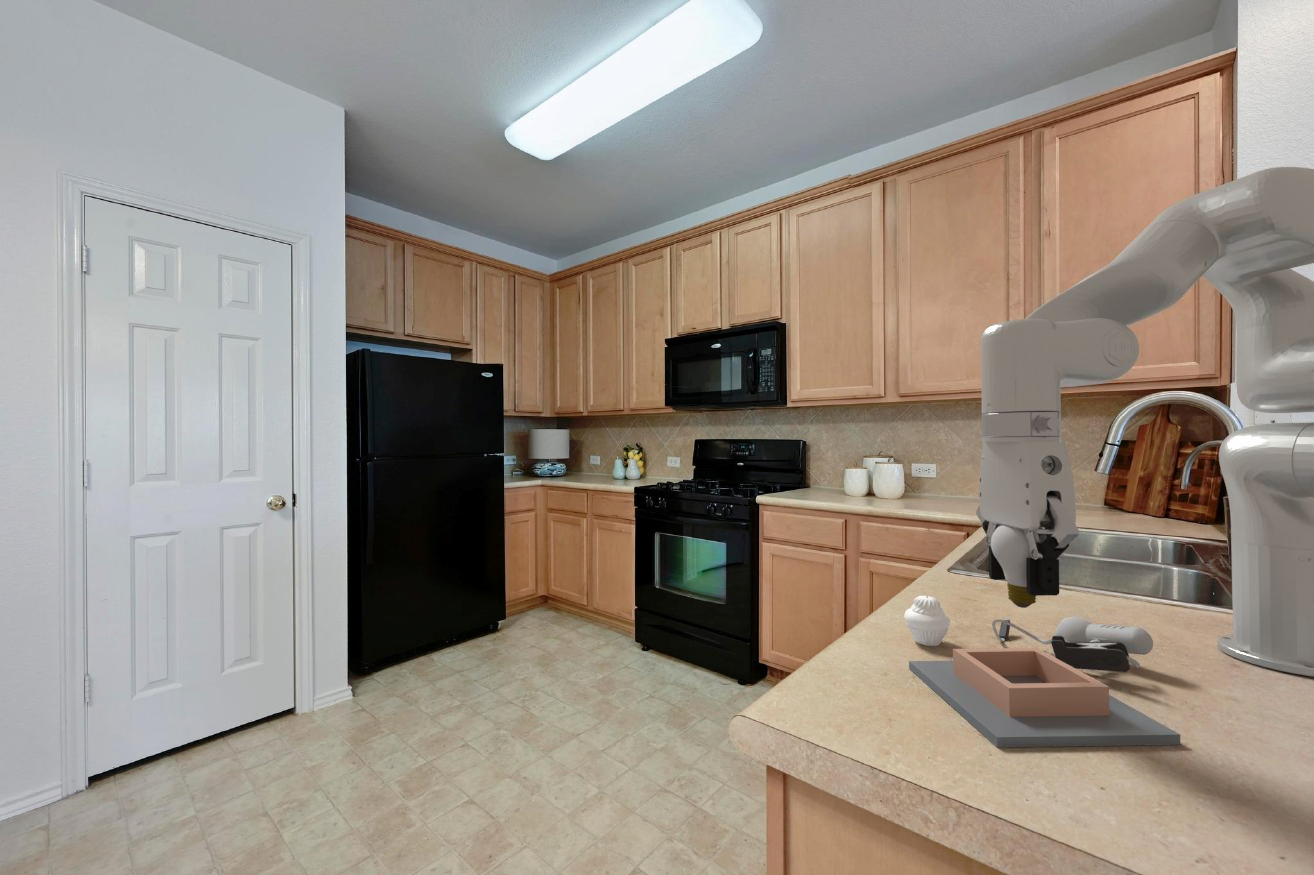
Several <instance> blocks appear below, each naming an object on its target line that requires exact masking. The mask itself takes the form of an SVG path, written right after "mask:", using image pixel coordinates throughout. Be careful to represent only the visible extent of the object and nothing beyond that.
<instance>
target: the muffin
mask: <svg viewBox="0 0 1314 875" xmlns="http://www.w3.org/2000/svg"><path fill="white" fill-rule="evenodd" d="M903 616H904V620H905V622H906V624H905V625H906V626H907V628H908V630H909V632H910V633H911V636H912V637H913V639H914V640H915V643H917V644H919V645H922V646H927V647H936V646H937V647H938V646H940V644H941V642H942V641H943V639H944V638H945V636H946V635H947V633H948V631H949V628H950V625H951V619H950V616H948V614H946V613H945V611H944V609H943V608H942V607H941V603H940V601H939V600H938V599H936V598H935V597H933V596H929V595H927V594H926V595H919V596H917V597H915V598H914V599H913V603H912V605H911V606H910V607H909V608H908V609H906V610H905V612H904V615H903Z"/></svg>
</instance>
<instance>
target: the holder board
mask: <svg viewBox="0 0 1314 875" xmlns="http://www.w3.org/2000/svg"><path fill="white" fill-rule="evenodd" d="M908 669H909V670H910V671H911V672H912V673H913V674H914V675H915V676H917V678H919V679H920V680H921V681H922V682H924V684H926V685H927V686H928V687H929V688H930V689H931V690H932V691H933V692H934V693H936V694H937V695H938V696H939V697H940V698H941V699H943V701H944V702H946V703H947V704H948V705H949V706H950V707H951V708H953V709H954V711H956V712H957V713H958V714H959V715H961V717H962V718H963V719H965V720H966V721H967V722H968V723H969V724H970V725H972V727H974V728H975V729H976V730H977V731H978V732H979V733H980V734H981V735H983V737H985V738H986V739H987V740H988V741H989V742H990V743H991V744H993V745H994V746H995V747H996V748H1046V747H1047V748H1049V747H1050V748H1051V747H1053V748H1056V747H1059V748H1062V747H1112V746H1113V747H1116V746H1117V747H1118V746H1119V747H1121V746H1175V745H1176V746H1180V745H1181V734H1180V733H1178V732H1177V731H1175V730H1173V729H1171V728H1170V727H1168V726H1166V725H1164V724H1162V723H1160V722H1159V721H1157V720H1156V719H1153V718H1152V717H1150V716H1148V715H1146V714H1144V713H1142V712H1140V711H1139V710H1138V709H1135V708H1134V707H1132V706H1130V705H1129V704H1126V703H1125V702H1123V701H1121V700H1119V699H1117V698H1116V697H1114V696H1113V695H1110V686H1109V685H1107V684H1105V683H1103V682H1101V681H1099V680H1098V679H1095V678H1094V677H1092V676H1090V675H1088V674H1087V673H1085V672H1083V671H1081V670H1080V669H1075V668H1073V667H1072V666H1070V665H1068V664H1066V663H1064V662H1062V661H1061V660H1059V659H1057V658H1056V657H1055V656H1053V655H1052V654H1049V653H1047V652H1046V651H1044V650H1042V649H1040V648H1038V647H1017V648H1016V647H1009V648H1008V647H1004V648H1002V647H1000V648H996V647H995V648H992V647H990V648H953V649H952V660H909V661H908Z"/></svg>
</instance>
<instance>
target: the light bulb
mask: <svg viewBox="0 0 1314 875" xmlns="http://www.w3.org/2000/svg"><path fill="white" fill-rule="evenodd" d="M1039 529H1044V528H1043V527H1039ZM1038 537H1039V541H1040V544H1041V543H1042V542H1043V541H1044V540H1045V539H1046V536H1038ZM990 546H991V548H992V552H993V554H994V556H995V557H996V559H997V560H998V562H999V563H1000V565H1001V567H1002V569H1003V571H1004V575H1005V579H1006V580H1005V581H1006V584H1007V586H1006V587H1007V590H1008V591H1007V594H1008V595H1007V597H1008V600H1010V601H1011V602H1012V603H1013V605H1015V606H1016V607H1018V608H1022V609H1025V608H1028V607H1029V606H1031V605H1032V604H1035V603H1037V601H1036V600H1037V596H1033V595H1030V594H1028V593H1027V583H1026V558H1032V557H1031V554H1030V550H1029V546H1028V542H1027V538H1026V535H1025V531H1023V530H1018V529H1015V528H1013V527H1010V526H1006V525H1000V526H999V527H998V528H997V529H996V530H995V531H994V533H993V535H992V538H991V545H990Z"/></svg>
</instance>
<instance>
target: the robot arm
mask: <svg viewBox="0 0 1314 875" xmlns="http://www.w3.org/2000/svg"><path fill="white" fill-rule="evenodd" d="M1312 264H1314V168H1309V167H1298V166H1279V167H1278V166H1275V167H1271V168H1266V169H1262V170H1259V171H1256V172H1253V173H1250V174H1247V175H1245V176H1243V177H1239V178H1237V179H1233V180H1232V181H1229V182H1226V183H1224V184H1221V185H1219V186H1215V187H1213V188H1210V189H1207V190H1205V191H1201V192H1198V193H1196V194H1193V195H1191V196H1188V197H1186V198H1183V199H1182V200H1180V201H1178V202H1175V203H1173V204H1172V205H1170V206H1169V207H1167V208H1166V209H1165V210H1163V211H1162V212H1160V214H1159V215H1157V217H1156V218H1155V219H1153V220H1152V221H1151V222H1150V223H1149V225H1147V226H1146V227H1145V228H1144V229H1143V230H1142V231H1141V232H1140V233H1139V234H1138V235H1137V236H1136V237H1135V239H1133V240H1132V241H1131V242H1130V243H1129V244H1128V245H1127V246H1126V247H1125V248H1124V249H1123V250H1122V251H1121V252H1120V253H1119V254H1118V255H1117V256H1116V257H1115V258H1114V259H1113V260H1112V261H1110V262H1109V263H1108V264H1107V265H1105V266H1103V267H1102V268H1100V269H1098V270H1096V271H1095V272H1094V273H1091V274H1089V275H1087V276H1086V277H1085V278H1083V279H1081V280H1080V281H1079V282H1077V283H1076V284H1074V285H1072V286H1070V287H1069V288H1067V289H1066V290H1065V291H1063V292H1061V293H1059V294H1057V295H1056V296H1054V297H1052V298H1051V299H1049V300H1048V301H1047V302H1045V303H1044V304H1042V305H1041V306H1039V307H1038V308H1036V309H1035V310H1034V311H1032V312H1031V313H1030V314H1029V315H1028V316H1026V318H1023V319H1022V318H1021V319H1011V320H1005V321H1001V322H999V323H995V324H993V325H991V326H989V327H987V328H986V329H985V330H984V331H983V333H982V335H981V337H980V338H981V339H980V370H981V371H980V373H981V377H980V378H981V382H980V383H981V435H982V436H981V442H982V443H983V445H982V448H981V449H982V450H981V455H980V456H981V457H980V464H979V481H978V482H979V483H978V484H979V486H978V501H979V502H978V503H979V505H978V507H977V509H976V516H977V518H978V519H979V521H980V523H981V524H982V525H981V527H982V530H983V531H984V533H985V543H986V545H987V546H988V576H989V579H991V580H994V581H1007V580H1006V579H1005V575H1004V571H1003V569H1002V567H1001V565H1000V563H999V562H998V560H997V559H996V557H995V556H994V554H993V552H992V548H991V538H992V535H993V533H994V531H995V530H996V529H997V528H998V527H999V526H1000V525H1006V526H1010V527H1013V528H1015V529H1018V530H1023V531H1025V535H1026V538H1027V542H1028V546H1029V550H1030V554H1031V557H1032V558H1026V583H1027V593H1028V594H1030V595H1033V596H1036V597H1037V596H1058V595H1059V594H1060V560H1062V559H1064V552H1065V551H1066V550H1067V549H1068V548H1069V546H1070V544H1071V543H1072V542H1073V541H1074V540H1075V539H1076V538H1077V537H1078V536H1079V535H1080V530H1079V528H1078V526H1077V525H1076V524H1077V510H1076V509H1077V507H1076V494H1075V493H1076V492H1075V485H1074V476H1073V474H1074V473H1073V468H1072V464H1071V459H1070V454H1069V451H1068V447H1067V444H1066V441H1064V440H1063V441H1062V437H1061V436H1062V422H1061V420H1062V417H1061V414H1062V413H1061V412H1062V407H1061V406H1062V402H1061V401H1062V399H1061V398H1062V397H1061V396H1062V394H1061V388H1074V387H1082V386H1084V387H1085V386H1092V385H1100V384H1101V385H1102V384H1104V383H1105V384H1106V383H1110V382H1111V381H1114V380H1117V379H1119V378H1120V377H1122V376H1124V375H1126V374H1127V373H1128V372H1130V370H1131V369H1132V368H1133V367H1134V365H1135V364H1136V362H1137V360H1138V358H1139V356H1140V355H1139V354H1140V343H1139V340H1138V337H1137V335H1136V334H1135V332H1134V331H1133V330H1132V329H1131V328H1129V326H1131V325H1134V324H1136V323H1138V322H1141V321H1143V320H1145V319H1148V318H1151V317H1152V316H1154V315H1155V316H1156V315H1157V314H1159V313H1161V312H1163V311H1166V310H1167V309H1169V308H1170V307H1173V306H1174V305H1175V304H1176V303H1177V302H1179V301H1180V300H1181V299H1182V298H1183V297H1184V296H1185V294H1186V293H1188V291H1189V290H1190V289H1191V288H1192V287H1193V286H1194V285H1195V284H1196V283H1197V281H1199V280H1200V279H1201V277H1202V278H1203V279H1204V280H1205V281H1207V282H1208V283H1209V284H1210V285H1211V286H1212V287H1213V288H1214V289H1216V290H1217V291H1218V292H1219V293H1220V294H1221V295H1222V296H1223V298H1224V299H1225V300H1226V301H1227V303H1228V304H1229V306H1230V307H1231V309H1232V311H1233V314H1234V318H1235V328H1236V330H1235V332H1236V341H1235V342H1236V344H1235V345H1236V346H1235V349H1236V350H1235V351H1236V356H1235V357H1236V358H1235V359H1236V360H1235V361H1236V364H1235V365H1236V366H1235V375H1236V376H1235V380H1236V381H1235V382H1236V384H1235V385H1236V393H1237V398H1238V400H1239V402H1240V403H1241V404H1242V406H1244V407H1245V408H1247V409H1248V410H1250V411H1254V412H1259V413H1269V414H1298V413H1300V414H1301V413H1314V281H1313V279H1312V280H1311V278H1308V277H1307V276H1304V275H1303V274H1301V273H1300V272H1298V271H1295V270H1293V269H1294V268H1299V267H1303V266H1307V265H1312ZM1218 462H1219V467H1220V471H1221V474H1222V478H1223V481H1224V484H1225V487H1226V492H1227V497H1228V504H1229V511H1230V512H1229V513H1230V534H1231V535H1230V538H1231V539H1230V540H1231V542H1230V543H1231V544H1230V545H1231V547H1230V548H1231V593H1232V634H1231V633H1230V634H1222V635H1221V636H1220V635H1219V637H1217V640H1216V641H1217V647H1218V649H1219V650H1220V651H1222V652H1223V653H1225V654H1227V655H1229V656H1231V657H1233V658H1236V659H1238V660H1241V661H1243V662H1245V663H1246V662H1247V663H1250V664H1253V665H1257V666H1261V667H1263V668H1268V669H1271V670H1276V671H1279V672H1284V673H1290V674H1294V675H1301V676H1307V677H1312V678H1313V677H1314V422H1312V421H1311V422H1279V423H1265V424H1262V423H1261V424H1257V425H1250V426H1245V427H1243V428H1239V429H1237V430H1235V431H1233V432H1231V433H1230V434H1229V435H1227V436H1226V437H1225V438H1224V439H1223V441H1222V442H1221V444H1220V447H1219V450H1218ZM1039 527H1041V528H1043V529H1039ZM1038 536H1046V539H1045V540H1044V541H1043V542H1042V543H1041V544H1040V541H1039V537H1038Z"/></svg>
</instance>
